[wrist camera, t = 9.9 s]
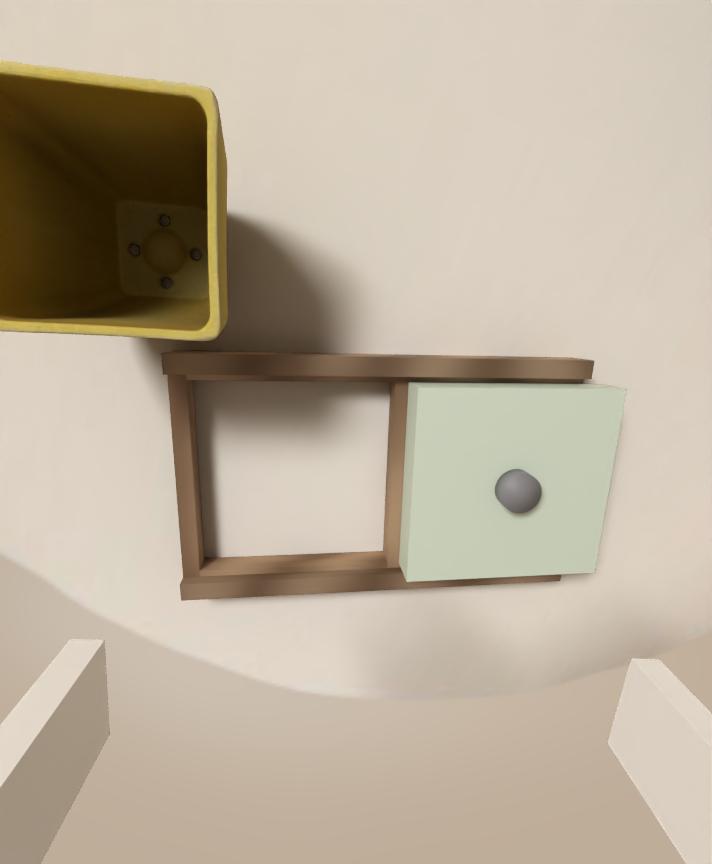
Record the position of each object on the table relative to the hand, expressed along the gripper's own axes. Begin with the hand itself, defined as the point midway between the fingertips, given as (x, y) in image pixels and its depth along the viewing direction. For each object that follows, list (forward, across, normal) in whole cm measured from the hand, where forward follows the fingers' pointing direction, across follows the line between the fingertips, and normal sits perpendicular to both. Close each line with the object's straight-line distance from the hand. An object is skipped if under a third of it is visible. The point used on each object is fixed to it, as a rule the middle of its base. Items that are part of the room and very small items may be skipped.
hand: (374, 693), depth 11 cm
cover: (+17, -10, 0) cm, 20 cm away
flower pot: (+18, +11, -12) cm, 24 cm away
